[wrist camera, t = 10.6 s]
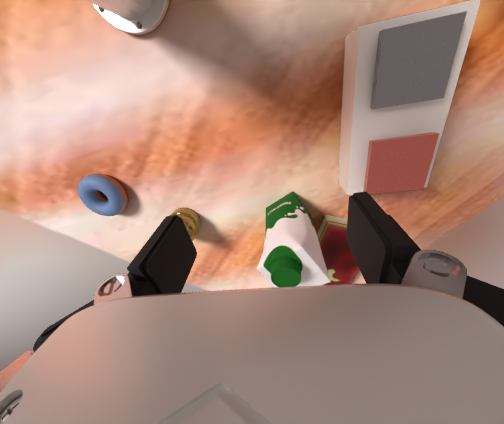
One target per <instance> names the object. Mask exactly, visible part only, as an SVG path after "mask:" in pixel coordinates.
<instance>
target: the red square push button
mask: <svg viewBox="0 0 504 424" xmlns="http://www.w3.org/2000/svg"><path fill="white" fill-rule="evenodd" d="M438 137H439V133H436V132H430V133H423V134H416V135H408V136H401V137H394V138H386V139H379V140H371V141H369V148H368V157H367V165H366V173H365V182H364V190H363V192H368V194H369V195H370V194H381V193H391V192H402V191H413V190H424V186H425V183H426V179H427V175H428V172H429V168H430V165H431V161H432V158H433V154H434V151H435V147H436V144H437V140H438Z"/></svg>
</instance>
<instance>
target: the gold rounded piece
mask: <svg viewBox="0 0 504 424" xmlns="http://www.w3.org/2000/svg"><path fill="white" fill-rule="evenodd" d="M173 215H178V216H179V217H181V218H182V220H183V222H184V224H185V227H186V229H187V231H188V233H189V236H190V238H191V240H192V241H193V240H194V239H195V237H196V235H197V234H198V232H199V230H200V228H201V219H200V217H199V216H198V215H197V213H195V212H194V211H193V210H191V209H188V208H179V209H176V210H175V211H174V212H173V213H172V214H171V215H170V216H173Z"/></svg>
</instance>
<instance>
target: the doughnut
mask: <svg viewBox="0 0 504 424" xmlns="http://www.w3.org/2000/svg"><path fill="white" fill-rule="evenodd" d="M100 191H101V192H102V193H104V194H105V195H106V196H107V198H108V200H106V199H105V198H104V197H103V196H102V195H101V194H100ZM78 192H79V196H80V198H81V200H82V202H83V203H84V204H85V205H86V206H87V207H88V208H89V209H91V210H92V211H93V212H95V213H98V214H100V215H104V216H114V215H117V214H119V213H121V212H123V210H124V209H125V208H126V207H127V203H128V197H127V194H126V192H125V189H124V188H123V187H122V186H121V184H120V183H118V182H117V181H116V180H115V179H113V178H111V177H109V176H107V175H102V174H92V175H88V176H87V177H85V178H83V179H82V180H81V182H80V183H79V185H78Z"/></svg>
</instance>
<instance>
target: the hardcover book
mask: <svg viewBox="0 0 504 424" xmlns="http://www.w3.org/2000/svg"><path fill="white" fill-rule="evenodd" d="M347 220H348V219H344V218H340V217H335V216H330V215H325V217H324V219H323V221H322V224H321V226H320V228H319V230H318V232H317V237H318V241H319V244H320V248H321V252H322V256H323V259H324V262H325V265H326V268H327V271H328V275H329V278H330V280H331V282H329V283H326V284H323V285H341V284H351V282H352V281H353V279H354V278H355V276H356V275H357V273H358V272H359V270H360V269H359V267H358V264H357V262H356V260H355V258H354V256H353V254H352V252H351V250H350V248H349V245H348V243H347V239H346V234H347Z"/></svg>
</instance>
